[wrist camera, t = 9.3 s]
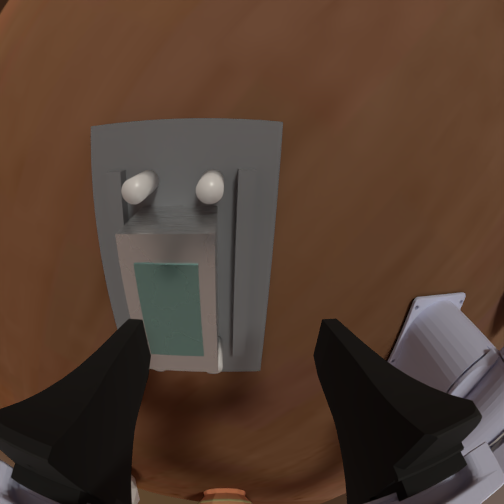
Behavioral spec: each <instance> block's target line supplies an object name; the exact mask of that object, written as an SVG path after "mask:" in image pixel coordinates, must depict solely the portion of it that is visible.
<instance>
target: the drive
mask: <svg viewBox="0 0 504 504" xmlns="http://www.w3.org/2000/svg"><path fill="white" fill-rule="evenodd" d="M115 236H116V244H117V251H118V257H119V263H120V269H121V275H122V280H123V286H124V291H125V296H126V300H127V305H128V310H129V314H130V318H131V319H141V320H143V324H144V328H145V333H146V337H147V341H148V346H149V350H150V354H151V360H150V367H149V369H160V370H176V371H202V372H218V349H219V308H218V206H143V207H142V208H141V209H140V210H139V211H138V212H137V213H136V214H135V215H134V216H133V217H132V218H131V219H130V220H129V221H128V222H127V223H126V224H125V225H124V226H123V227H122V228H121V229H120V230H119V231H118V232H117V233H116V234H115Z"/></svg>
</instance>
